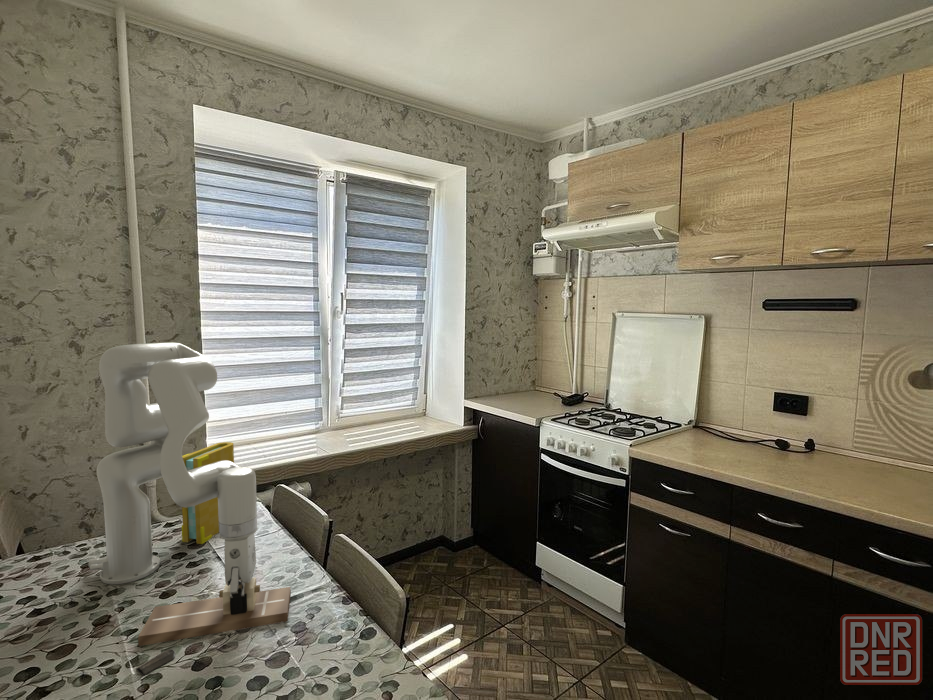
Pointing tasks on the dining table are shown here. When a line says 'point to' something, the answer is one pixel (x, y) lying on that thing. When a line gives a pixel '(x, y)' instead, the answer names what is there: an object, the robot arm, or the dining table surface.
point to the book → (204, 516)
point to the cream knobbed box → (249, 589)
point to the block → (156, 662)
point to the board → (212, 617)
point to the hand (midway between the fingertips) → (241, 604)
